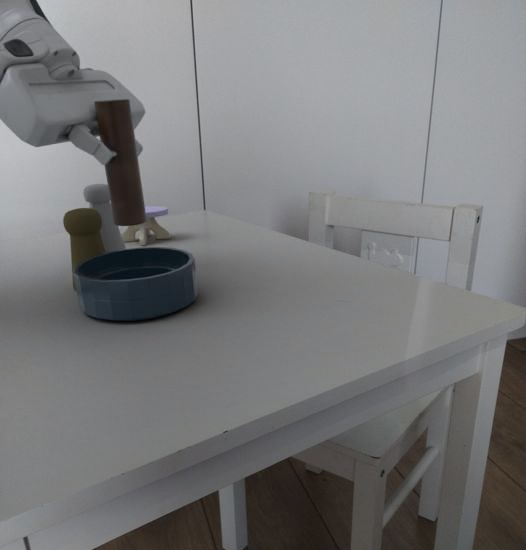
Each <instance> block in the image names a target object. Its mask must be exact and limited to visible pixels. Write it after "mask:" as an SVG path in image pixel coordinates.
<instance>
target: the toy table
mask: <svg viewBox="0 0 526 550" xmlns="http://www.w3.org/2000/svg"><path fill="white" fill-rule="evenodd" d="M168 209H169V208H168V207H166V206H160V205H159V206H158V205H148V206H147V205H145V212H146V219H147V221H146V222H145V223H142V224H139V225H133V226H127V228H125V230H124V232H122V234H121V236H122V239H123V242H124V243H125V242H127V243H128V242H135V241H136V234H137V232H138V231H139V239H138V240H139V246H140V247H143V246H146V244H147V243H148V242H147V241H148V240H147V237H150V236H151V232H152V233H153V234H154V236H155V239H156V240H164V239H165V240H166V239H170V238H171V233H170V232H169V231H168V230H167V229H166V228H164V227H163V226H161V225H160V224H159V223H158V221H157V220H156V218H157V217H158V218H159V217H163V216H167V215H168V214H169V210H168Z"/></svg>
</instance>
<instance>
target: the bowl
mask: <svg viewBox="0 0 526 550" xmlns="http://www.w3.org/2000/svg"><path fill="white" fill-rule="evenodd" d="M195 259H196V258H195V256H194V255H193V253H191V252H189V251H188V250H185V249H181V248H176V247H166V246H140V247H132V248H126V249H122V250H116V251H111V252H106V253H103V254H99V255H96V256H93V257H90V258H88V259H86V260H83V261H81V262H80V263H79V264H77V265H76V266H75V267H74V272H73V273H74V278H75V283H76V288H77V290H76V293H77V299H78V303H79V304H78V305H79V309H80V310H81V311H82V312H83V313H84V314H86V315H88V316H91V317H93V318H96V319H100V320H101V319H102V320H106V321H111V322H112V321H114V322H137V321H144V320H151V319H157V318H160V317H164V316H167V315H170V314H173V313H175V312H177V311H180V310H181V309H183V308H186V307H188V306H189V305H190V304H192V303H193V302H194V301H196V299H197V296H198V294H199V290H198V281H197V279H198V278H197V270H196V261H195Z"/></svg>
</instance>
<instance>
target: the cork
mask: <svg viewBox="0 0 526 550" xmlns="http://www.w3.org/2000/svg"><path fill="white" fill-rule="evenodd" d="M62 223H63V227H64V229H65V231H66V232H67V234H69V240H70V241H69V243H70V257H71V274H72V275H71V276H72V289H73V290H74V291H77V288H76V283H75V278H74V273H73V272H74V267H75V266H76V265H77V264H79V263H80V262H81V261H83V260H86V259H88V258H90V257H93V256H96V255H99V254H103V253H106V250H105V247H104V244H103V240H102V237H101V234H100V230H101V228H102V218H101V215H100V213H99V212H98V211H97V210H95V209H91V208H89V207H79V208H74V209H71V210H68V211H66V212H65V213H64V215H63V219H62Z"/></svg>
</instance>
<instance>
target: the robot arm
mask: <svg viewBox="0 0 526 550" xmlns="http://www.w3.org/2000/svg"><path fill="white" fill-rule="evenodd" d="M118 99H130V105H131V112H132V119H133V127H134V130H136V129H137V127H138V126H139V124H140V122H142V120H143V118H144V117H145V114H146V109H145V106H144V104H143V102H141V101H140V99H138V98H137V96H135V95H134V94H133V92H131V91H130V90H129V89H128V88H127V87H126V86H125V85H123V84H122V83H121V82H120V81H119V80H118V79H117V78H116V77H115V76H114V75H112V74H111V73H109V72H107V71H104V70H101V69H93V68H91V67H84V68H81V59H80V56H79V53H77V51H76V49H74V47H72V46H71V45H70V44H69V43H68V42H67V40H66V39H65V38H64V37H63V36H62V35H61V34H60V33H59V32H58V31H57V30H56V29H55V28H54V26H53V25H52V24H51V22H50V21H49V19H48V17H47V16H46V15H45V13H44V12H43V9H42V8H41V6H40V4H39V2H38V0H0V120H1V122H2V123H3V124H4V125H5V126H6V127H7V128H8V129H9V130H10V131H11V132H12V133H13V134H14V135H15V136H16V137H18V139H20V141H22V142H24V143H26V144H27V145H30V146H32V147H35V148H40V147H47V146H52V145H57V144H63V143H68V142H70V143H71V144H72V145H74V147H76V148H77V149H79V150H81V151H83V152H84V153H87V154H88V155H90V156H92V157H94V159H95V160H96V161H98V162H99V164H100V165H102V166H105V165H106V164H110V163H113V161H114V159H115V158H116V157H117V152H116V151H115V149H113V148H112V146H111V145H110V144H109V143H108V142H107V143H103V142H102V141H100V138H98V137H100V135H99V129H98V123H97V117H96V111H95V105H94V101H102V100H118ZM135 141H136V148H137V155H138V157H139V156H140V155H141V153H142V152H143V150H144V147H143V145H142V143H140V142H139V140H137V138H135Z"/></svg>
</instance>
